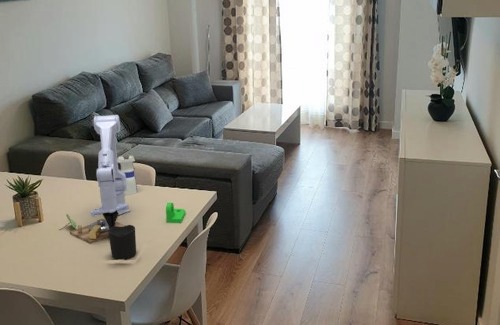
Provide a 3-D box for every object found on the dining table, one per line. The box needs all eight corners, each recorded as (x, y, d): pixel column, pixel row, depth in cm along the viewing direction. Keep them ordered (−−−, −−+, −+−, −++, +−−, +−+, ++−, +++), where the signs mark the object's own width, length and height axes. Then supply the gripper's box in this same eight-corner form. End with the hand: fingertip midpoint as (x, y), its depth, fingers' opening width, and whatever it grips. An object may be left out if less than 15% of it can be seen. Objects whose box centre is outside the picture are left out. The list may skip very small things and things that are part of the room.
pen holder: (123, 247, 206) (121, 222, 204) (142, 252, 202) (140, 227, 199) (105, 257, 199) (102, 231, 196) (124, 262, 194) (122, 236, 191)
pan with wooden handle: (93, 222, 227) (92, 216, 226) (117, 222, 227) (116, 215, 226) (80, 238, 212) (79, 231, 211) (105, 238, 211) (105, 231, 210)
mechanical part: (181, 223, 228) (179, 205, 226) (166, 223, 229) (165, 205, 226) (187, 213, 239) (186, 195, 237) (173, 212, 240) (172, 195, 238)
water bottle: (119, 194, 265) (114, 144, 258) (137, 192, 267) (133, 142, 260) (120, 200, 257) (115, 148, 250) (138, 198, 259) (134, 146, 252)
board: (69, 233, 220) (68, 224, 219) (108, 220, 233) (107, 211, 232) (90, 243, 210) (89, 234, 209) (129, 229, 223) (128, 220, 222)
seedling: (67, 239, 227) (80, 229, 228) (60, 236, 219) (74, 225, 220) (58, 225, 229) (71, 215, 230) (50, 222, 221) (64, 212, 222)
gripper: (92, 203, 205) (96, 237, 209) (130, 196, 212) (133, 228, 216) (87, 198, 211) (91, 231, 215) (124, 191, 218) (127, 223, 221)
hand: (111, 229), depth 215 cm, fingers closed
